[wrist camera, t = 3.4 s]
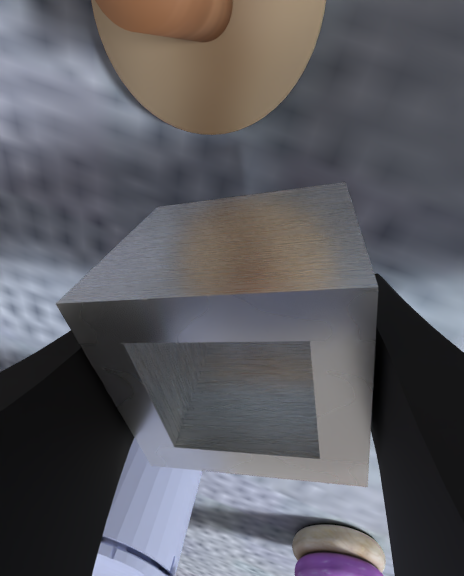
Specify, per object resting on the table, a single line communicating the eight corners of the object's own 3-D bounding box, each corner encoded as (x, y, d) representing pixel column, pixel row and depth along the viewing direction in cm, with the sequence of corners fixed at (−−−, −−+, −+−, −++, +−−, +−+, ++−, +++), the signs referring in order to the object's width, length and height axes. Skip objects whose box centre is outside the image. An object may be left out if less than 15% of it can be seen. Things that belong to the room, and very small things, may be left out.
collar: (200, 339, 13) (151, 465, 9) (157, 206, 10) (55, 303, 6) (346, 337, 12) (367, 487, 7) (345, 181, 9) (378, 287, 5)
